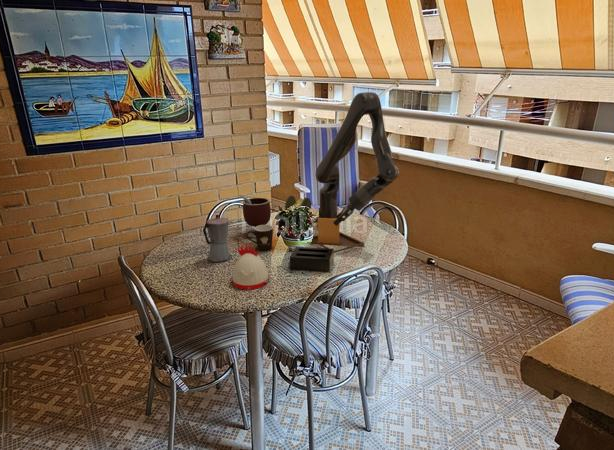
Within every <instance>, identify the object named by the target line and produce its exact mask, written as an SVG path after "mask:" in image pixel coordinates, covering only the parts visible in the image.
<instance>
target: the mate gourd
mask: <svg viewBox="0 0 614 450" xmlns="http://www.w3.org/2000/svg"><path fill="white" fill-rule="evenodd" d="M239 197H241V198H242V199H243V204H242V216H243V219H244V222H245V223H246V224H247V225H248V226H250V227H254V228H255V227H256V226H259V225H268V223H269V222H270V220H271V215H272V210H271V209H272V208H271V202H270V199H268V198H265V197H251V198H248V197H247V196H245V195H242V194H239ZM254 228H251V229H248V230H247V231H246V232H245V235H247V233H248V232H249V231H253V232H255V230H254ZM247 236H248V237H249V238H255V239H256V236H255V235H254V234H253V233H248V235H247ZM247 236H246V237H247Z"/></svg>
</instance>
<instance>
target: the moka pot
mask: <svg viewBox="0 0 614 450" xmlns="http://www.w3.org/2000/svg"><path fill="white" fill-rule="evenodd" d="M229 223H230V221H229V218H228V217H220V215H219V214H215V217H213V218H208V220H206V221H205V224H204V227H203V229H202V233H203V235H204V238H205V241H206V244H207V245H209V255H208V257H209V258H208V259H209V261H211V262H215V263H220V262H226V261H228V260H229V259H230V254H229V253H230V252H229V246H228V236H229V225H230V224H229ZM213 260H214V261H213Z"/></svg>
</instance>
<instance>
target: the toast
mask: <svg viewBox="0 0 614 450" xmlns="http://www.w3.org/2000/svg"><path fill="white" fill-rule="evenodd" d="M335 220H336V219H332V218H318V223H317V235H318V243H333V244H339V232H340V223H339V224H338V225H337V226H336V225H335V224H334V223H333V222H334V221H335Z"/></svg>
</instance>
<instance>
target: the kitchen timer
mask: <svg viewBox="0 0 614 450" xmlns="http://www.w3.org/2000/svg"><path fill="white" fill-rule="evenodd" d="M255 251H256V247H253V249H252V244H249V247H248V245H247V244H246V245H245V247H243V245H242V244H241V245H240V248H239V247H238V248H237V252H238V254H239V255H240V256H239V258H238V259H237V260H236V261H235V262H234V267H233V270H232V271H233V272H232V277H231V278H232V285H233V286H234V288H235V287H236V288H237V289H241V290H255V289H260V288H262V287H264V286H266V285H267V284H268V282H267V281H268V279H269V276H270V275H269V272H268V269H267V266H266V264H265V262H264V260H263V259H262V257H260V256H259V255H258V254H259V252H260V250H257V252H255Z"/></svg>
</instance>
